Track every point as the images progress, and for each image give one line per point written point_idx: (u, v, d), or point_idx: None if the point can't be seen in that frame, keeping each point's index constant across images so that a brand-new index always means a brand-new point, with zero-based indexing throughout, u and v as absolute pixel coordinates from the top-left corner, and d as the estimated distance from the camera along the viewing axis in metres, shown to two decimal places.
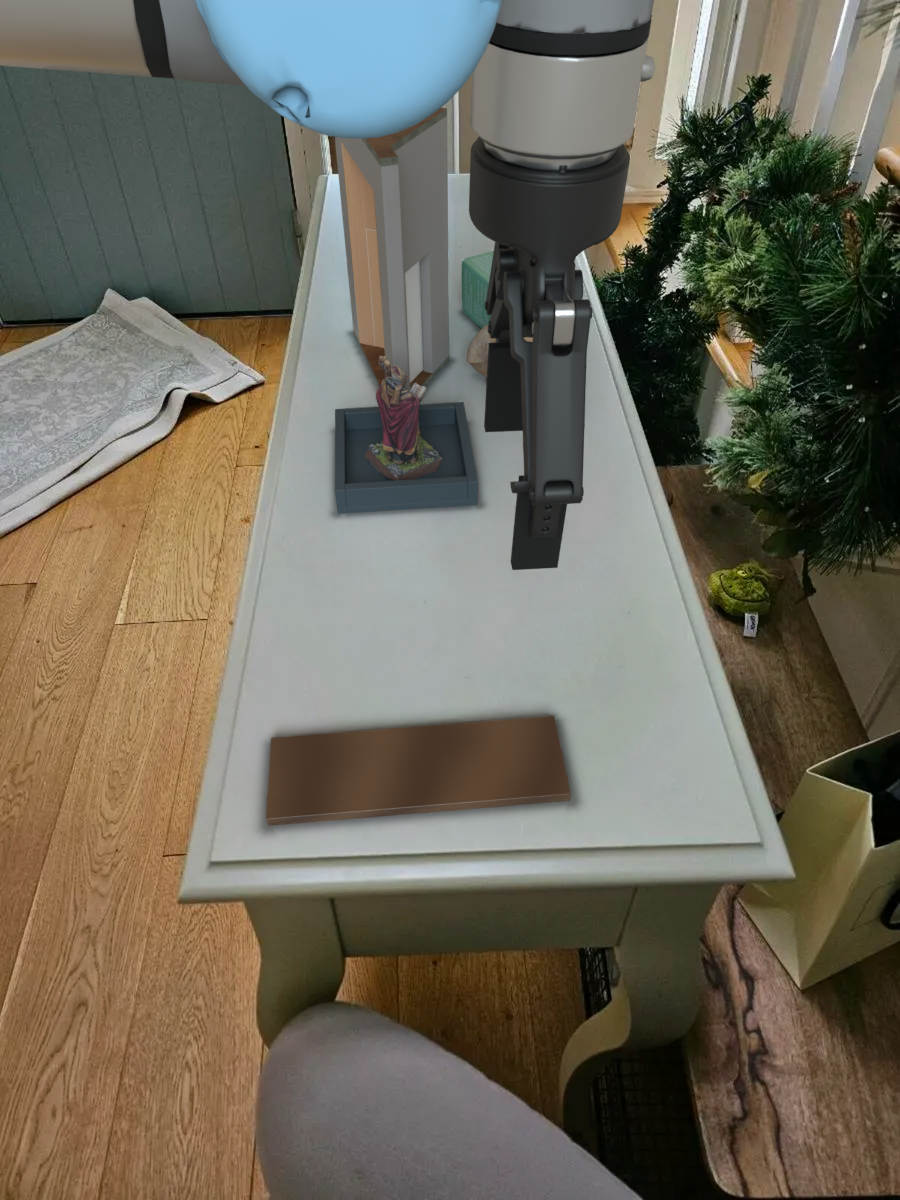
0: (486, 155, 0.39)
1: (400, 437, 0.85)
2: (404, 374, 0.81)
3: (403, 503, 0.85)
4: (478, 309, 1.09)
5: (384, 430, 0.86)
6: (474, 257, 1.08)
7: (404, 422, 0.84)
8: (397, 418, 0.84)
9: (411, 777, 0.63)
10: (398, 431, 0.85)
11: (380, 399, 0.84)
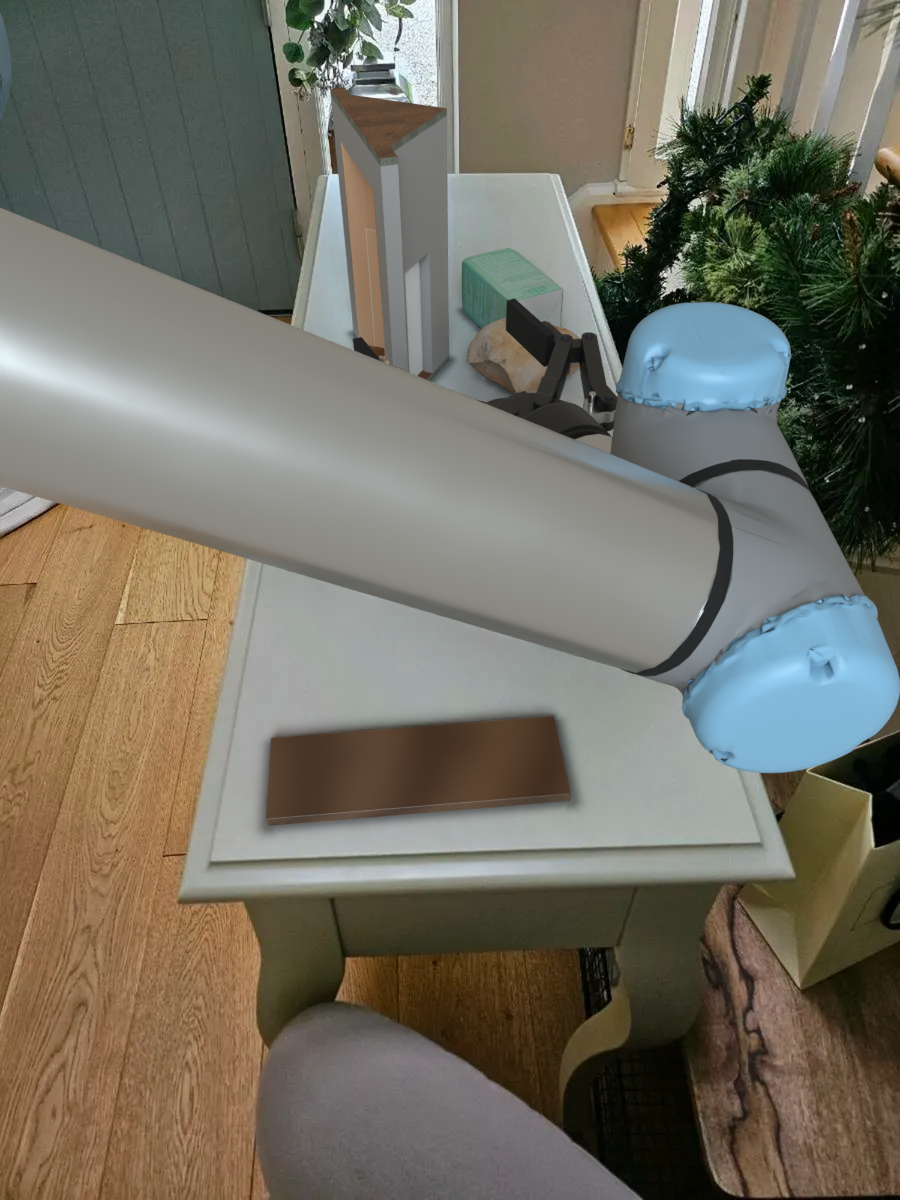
0: None
1: None
2: None
3: None
4: (478, 309, 1.09)
5: None
6: (474, 257, 1.08)
7: None
8: None
9: (411, 777, 0.63)
10: None
11: None
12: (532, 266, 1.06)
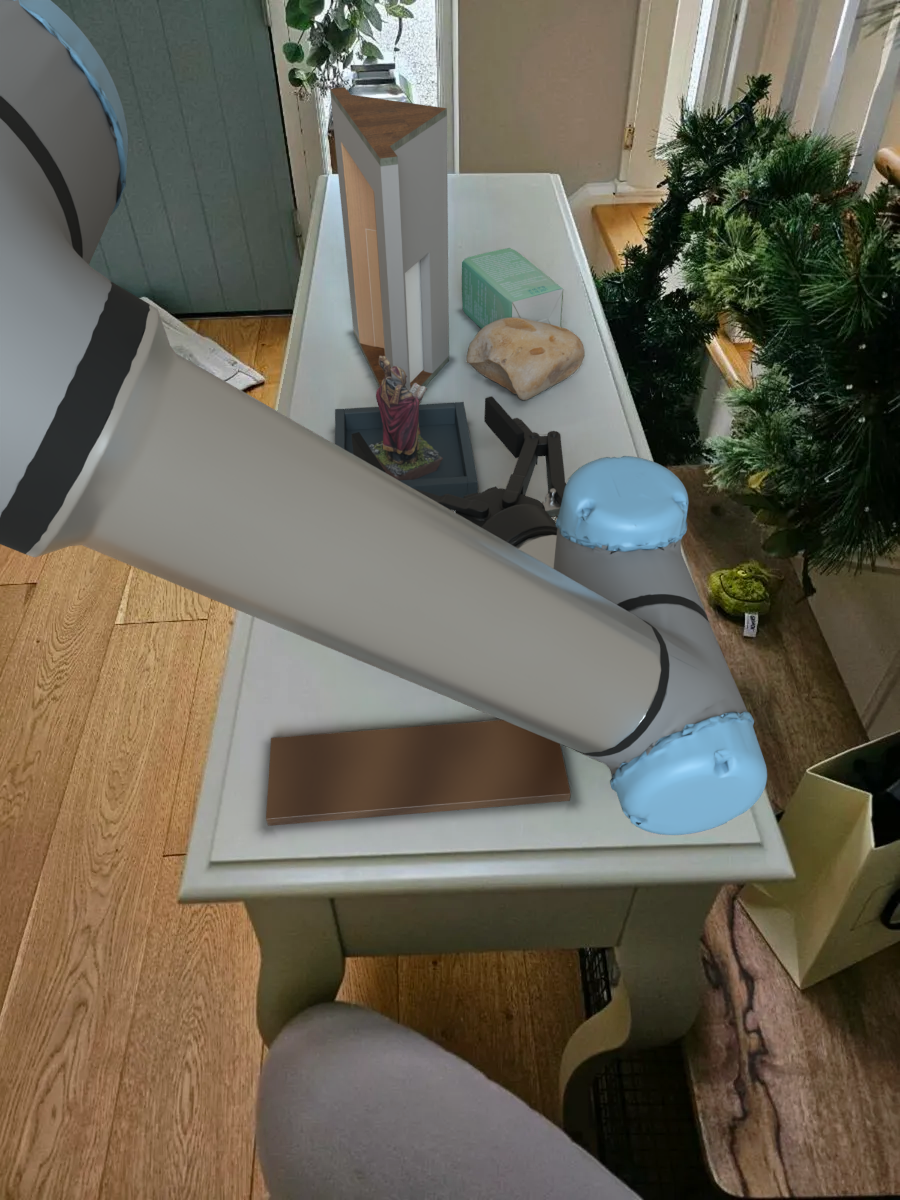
0: (519, 540, 0.65)
1: (400, 437, 0.85)
2: (404, 374, 0.81)
3: None
4: (478, 309, 1.09)
5: (384, 430, 0.86)
6: (474, 257, 1.08)
7: (404, 422, 0.84)
8: (397, 418, 0.84)
9: (411, 777, 0.63)
10: (398, 431, 0.85)
11: (380, 399, 0.84)
12: (532, 266, 1.06)
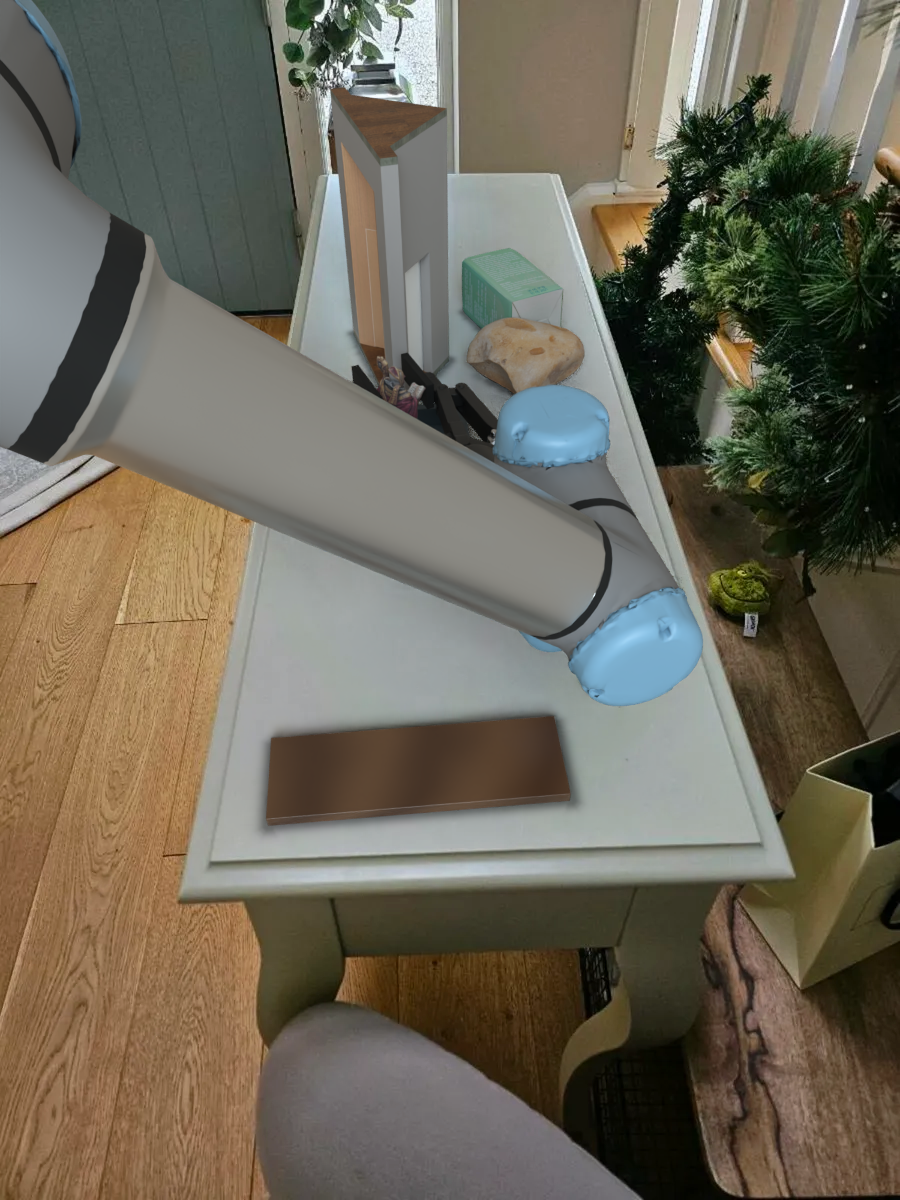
0: None
1: None
2: (402, 374, 0.81)
3: None
4: (478, 309, 1.09)
5: None
6: (474, 257, 1.08)
7: None
8: None
9: (411, 777, 0.63)
10: None
11: None
12: (532, 266, 1.06)
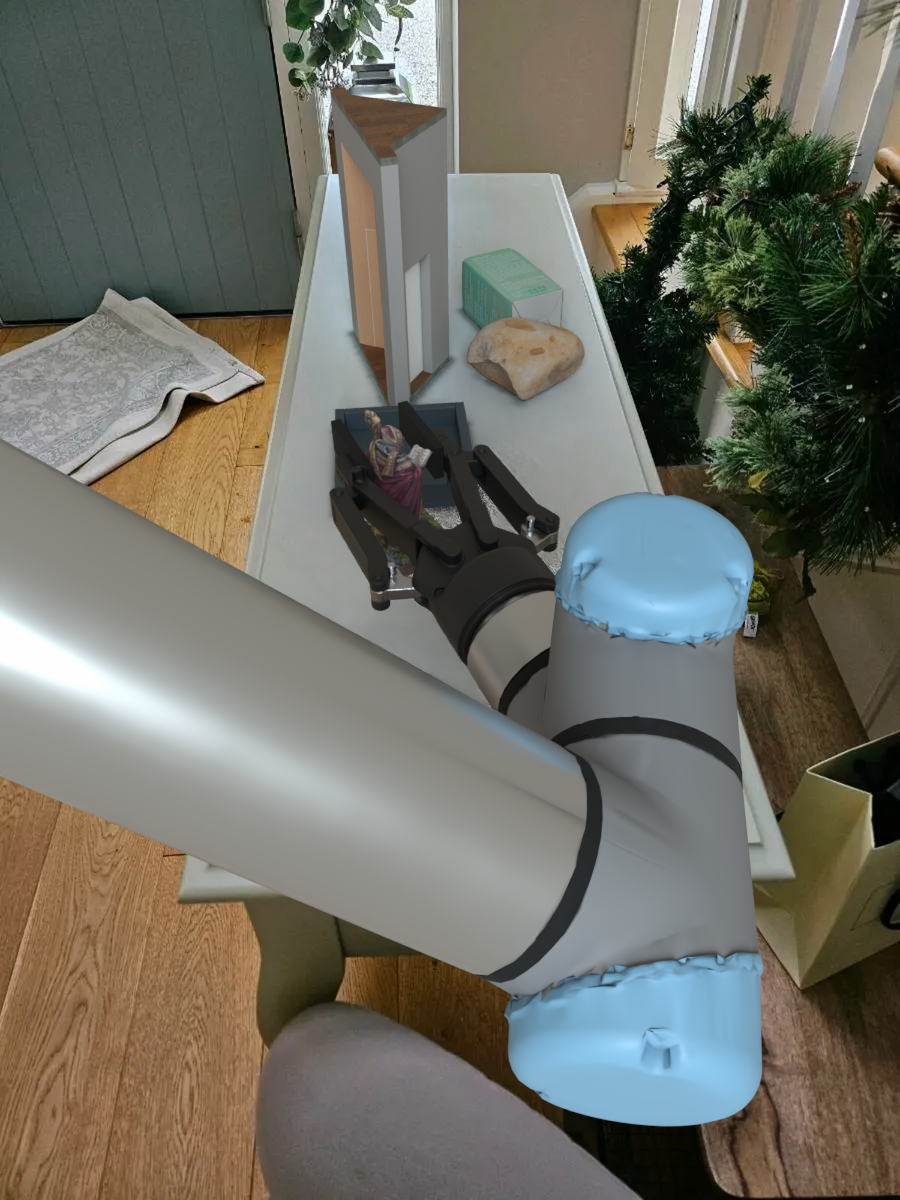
0: (503, 598, 0.48)
1: None
2: (400, 436, 0.58)
3: None
4: (479, 309, 1.09)
5: None
6: (474, 257, 1.08)
7: (402, 499, 0.61)
8: (392, 494, 0.61)
9: None
10: None
11: None
12: (533, 266, 1.06)
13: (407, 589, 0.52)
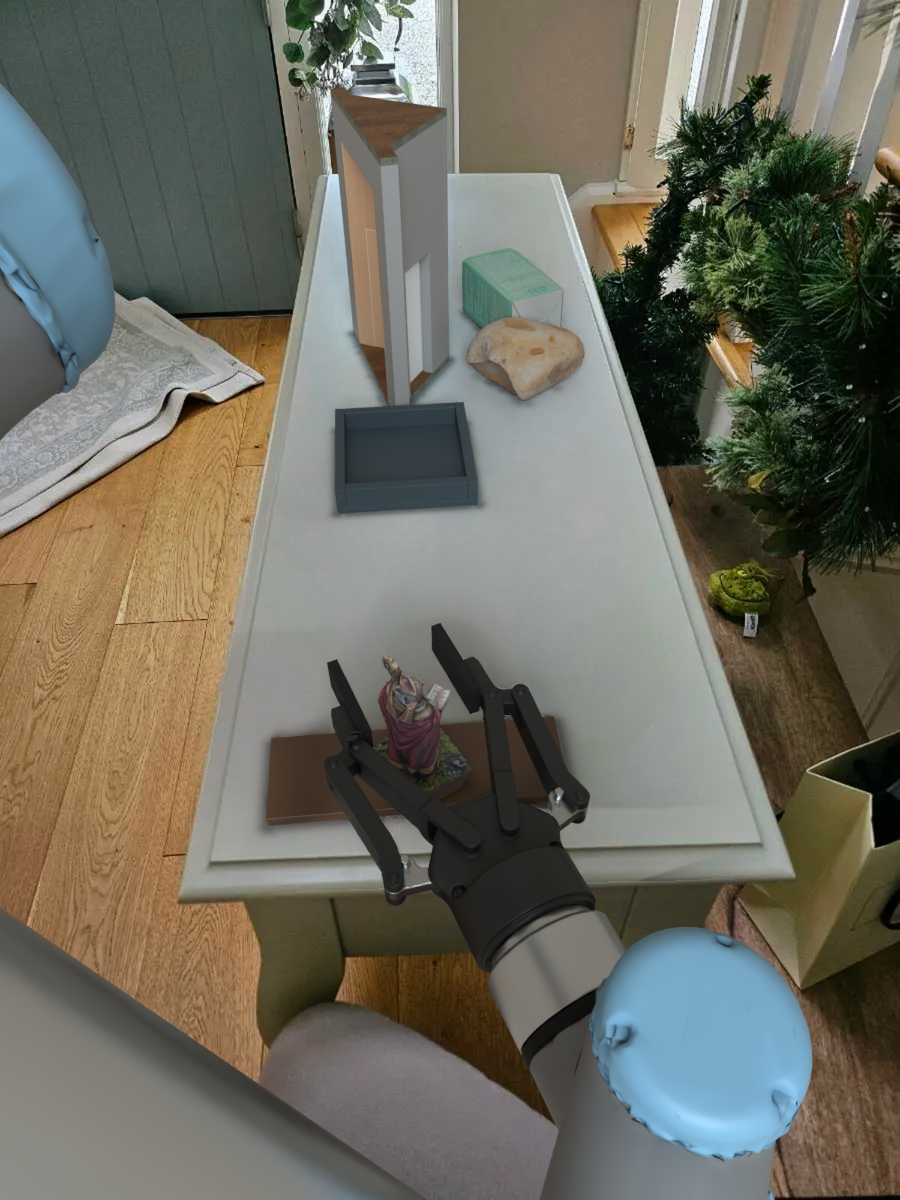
0: (526, 922, 0.45)
1: (414, 756, 0.59)
2: (420, 687, 0.55)
3: (403, 503, 0.85)
4: (479, 309, 1.09)
5: (390, 741, 0.60)
6: (475, 257, 1.08)
7: (419, 742, 0.58)
8: (408, 736, 0.58)
9: None
10: (410, 749, 0.59)
11: (384, 707, 0.58)
12: (533, 266, 1.06)
13: (424, 884, 0.49)
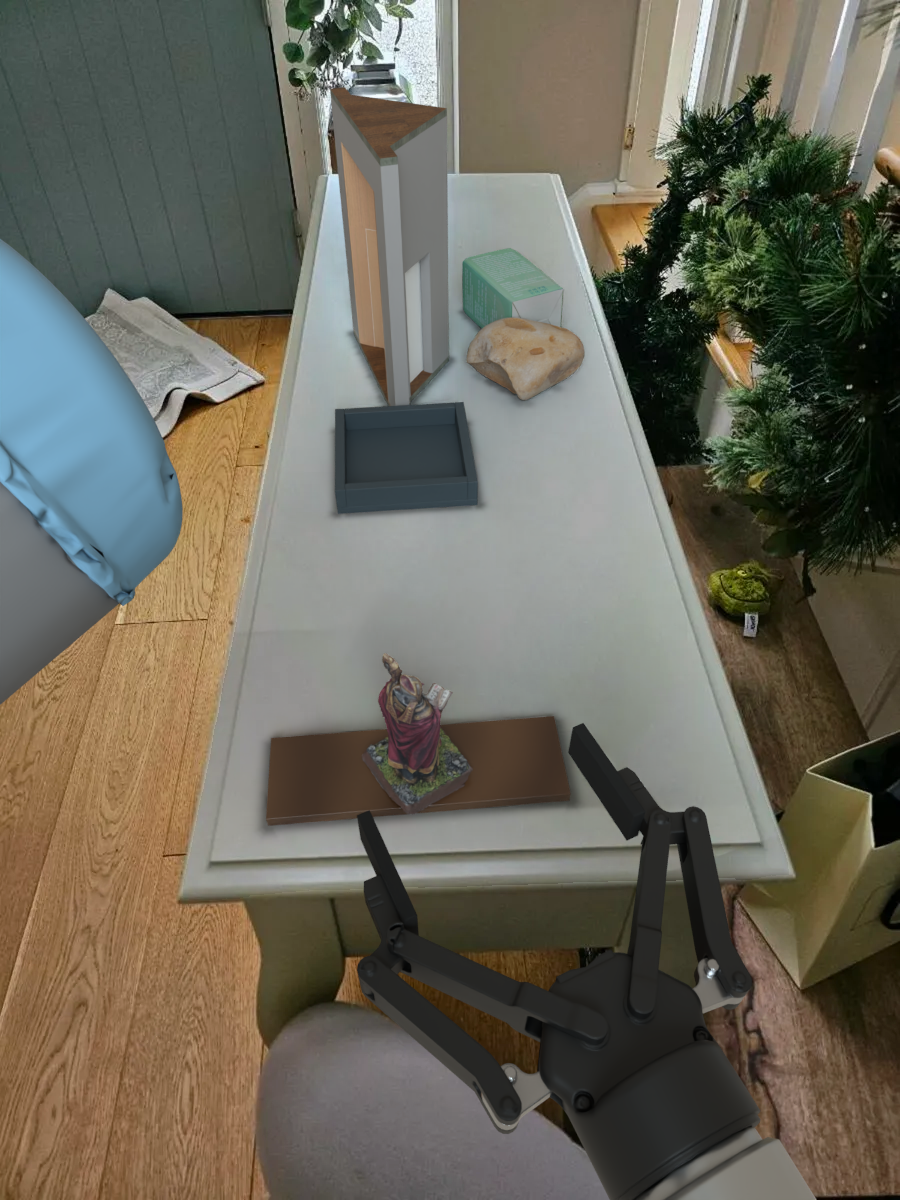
0: (685, 1162, 0.34)
1: (414, 756, 0.59)
2: (420, 687, 0.55)
3: (403, 503, 0.85)
4: (479, 309, 1.09)
5: (390, 741, 0.60)
6: (475, 257, 1.08)
7: (419, 742, 0.58)
8: (408, 736, 0.58)
9: None
10: (410, 749, 0.59)
11: (384, 707, 0.58)
12: (533, 266, 1.06)
13: (544, 1096, 0.38)
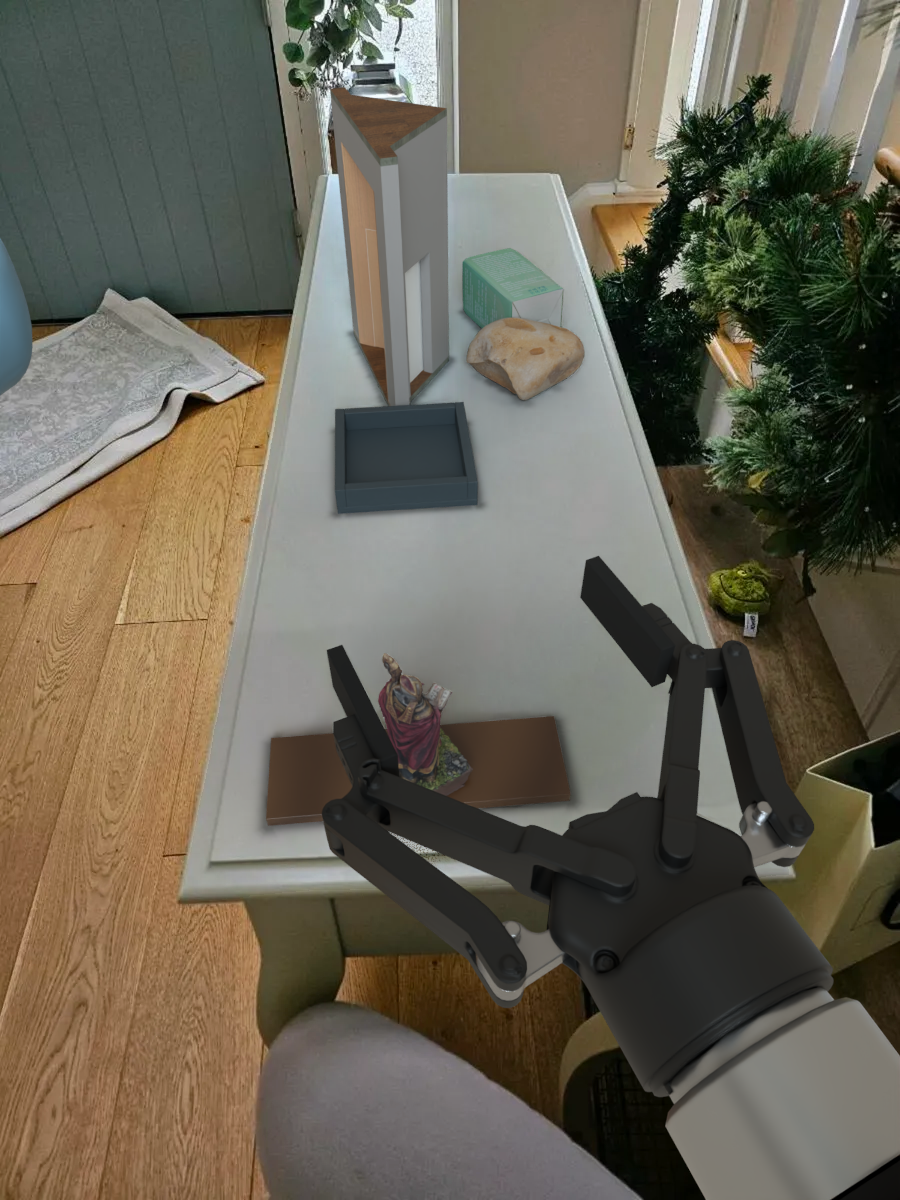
0: (742, 1022, 0.26)
1: (414, 756, 0.59)
2: (420, 687, 0.55)
3: (403, 503, 0.85)
4: (479, 309, 1.09)
5: None
6: (475, 257, 1.08)
7: (419, 742, 0.58)
8: (408, 736, 0.58)
9: None
10: (410, 749, 0.59)
11: (384, 707, 0.58)
12: (533, 266, 1.06)
13: (555, 959, 0.30)
